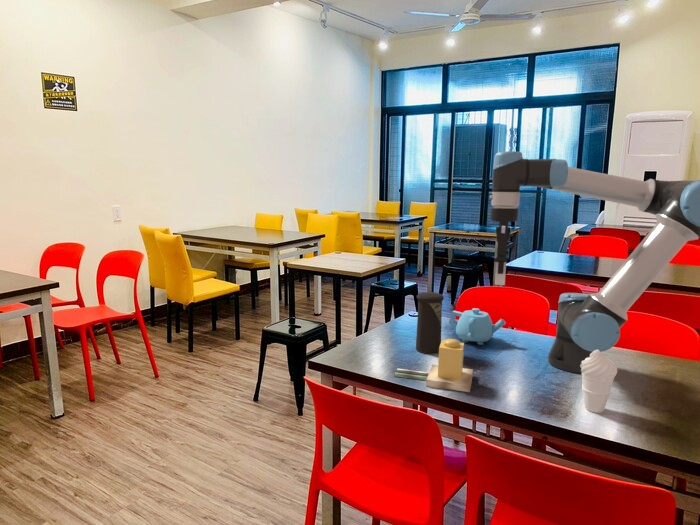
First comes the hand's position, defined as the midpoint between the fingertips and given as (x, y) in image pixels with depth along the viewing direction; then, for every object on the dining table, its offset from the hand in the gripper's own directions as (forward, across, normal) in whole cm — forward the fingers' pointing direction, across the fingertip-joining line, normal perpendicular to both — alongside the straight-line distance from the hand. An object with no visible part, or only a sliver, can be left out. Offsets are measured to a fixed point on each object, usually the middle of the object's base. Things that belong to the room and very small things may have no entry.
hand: (499, 280), depth 141 cm
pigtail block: (+29, +10, -17) cm, 35 cm away
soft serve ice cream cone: (+29, +16, +25) cm, 41 cm away
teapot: (+29, -30, -7) cm, 42 cm away
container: (+29, -14, -22) cm, 39 cm away
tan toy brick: (+27, +10, -12) cm, 31 cm away
